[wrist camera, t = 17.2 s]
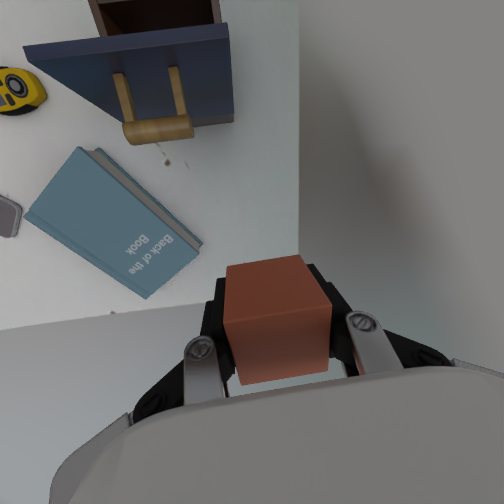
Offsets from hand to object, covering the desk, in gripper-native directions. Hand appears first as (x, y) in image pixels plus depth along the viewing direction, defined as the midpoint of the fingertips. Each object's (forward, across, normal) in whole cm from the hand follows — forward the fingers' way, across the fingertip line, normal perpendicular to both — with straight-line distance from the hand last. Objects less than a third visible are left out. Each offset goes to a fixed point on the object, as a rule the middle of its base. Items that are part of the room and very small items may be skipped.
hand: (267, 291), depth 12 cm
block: (0, 0, 0) cm, 0 cm away
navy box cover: (+13, +6, -14) cm, 20 cm away
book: (+28, +23, +2) cm, 36 cm away
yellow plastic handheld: (+28, +34, -19) cm, 48 cm away
